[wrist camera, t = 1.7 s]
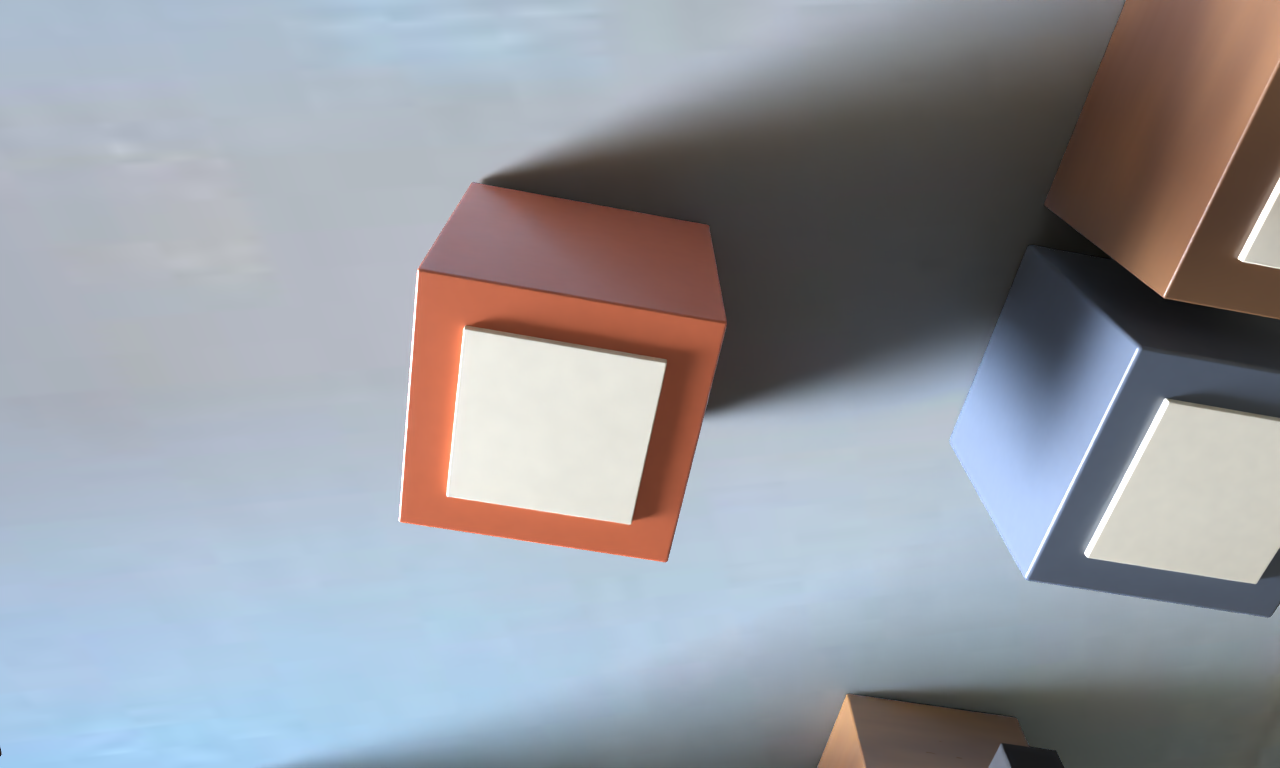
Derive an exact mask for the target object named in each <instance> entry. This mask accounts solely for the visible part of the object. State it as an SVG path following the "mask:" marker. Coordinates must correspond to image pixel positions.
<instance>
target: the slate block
mask: <svg viewBox="0 0 1280 768" xmlns="http://www.w3.org/2000/svg"><path fill="white" fill-rule="evenodd" d="M949 442H950V445H951V446H952V448H953V450H954V452H955V454H956V456H957V457H958V459H959V461H960V463H961V465H962V466H963V468H964V470H965V472H966V474H967V475H968V477H969V479H970V481H971V483H972V484H973V486H974V488H975V490H976V492H977V494H978V495H979V497H980V499H981V501H982V503H983V504H984V506H985V508H986V510H987V512H988V513H989V515H990V517H991V519H992V521H993V522H994V524H995V526H996V528H997V530H998V531H999V533H1000V535H1001V537H1002V539H1003V541H1004V542H1005V544H1006V546H1007V548H1008V550H1009V551H1010V553H1011V555H1012V557H1013V559H1014V560H1015V562H1016V564H1017V566H1018V568H1019V569H1020V571H1021V573H1022V575H1023V577H1024V578H1025V579H1026V580H1028V581H1034V582H1041V583H1047V584H1054V585H1060V586H1066V587H1073V588H1079V589H1086V590H1092V591H1099V592H1105V593H1112V594H1118V595H1125V596H1131V597H1138V598H1144V599H1151V600H1157V601H1164V602H1170V603H1176V604H1183V605H1189V606H1196V607H1202V608H1209V609H1215V610H1222V611H1228V612H1235V613H1241V614H1248V615H1254V616H1261V617H1267V618H1268V617H1271V616H1272V615H1273V613H1274V612H1275V610H1276V609H1277V607H1278V606H1279V604H1280V319H1275V318H1269V317H1264V316H1258V315H1253V314H1247V313H1242V312H1236V311H1231V310H1225V309H1220V308H1214V307H1209V306H1203V305H1198V304H1192V303H1187V302H1181V301H1176V300H1170V299H1165V298H1163V297H1162V296H1160V295H1159V294H1158V293H1156V292H1155V291H1154V290H1153V289H1151V288H1150V287H1149V286H1147V285H1146V284H1145V283H1144V282H1142V281H1141V280H1140V279H1138V278H1137V277H1136V276H1135V275H1133V274H1132V273H1131V272H1129V271H1128V270H1127V269H1126V268H1124V267H1123V266H1122V265H1120V264H1119V263H1118V262H1117V261H1115V260H1110V259H1105V258H1099V257H1094V256H1089V255H1083V254H1078V253H1072V252H1067V251H1062V250H1056V249H1051V248H1045V247H1040V246H1034V245H1029V246H1028V247H1027V249H1026V252H1025V254H1024V257H1023V259H1022V262H1021V264H1020V266H1019V269H1018V271H1017V274H1016V276H1015V279H1014V281H1013V284H1012V286H1011V289H1010V291H1009V294H1008V296H1007V299H1006V301H1005V304H1004V306H1003V309H1002V311H1001V314H1000V316H999V319H998V321H997V324H996V326H995V328H994V331H993V333H992V336H991V338H990V341H989V343H988V346H987V348H986V351H985V353H984V356H983V358H982V361H981V363H980V366H979V368H978V371H977V373H976V376H975V378H974V381H973V383H972V386H971V388H970V390H969V393H968V395H967V398H966V400H965V403H964V405H963V408H962V410H961V413H960V415H959V418H958V420H957V423H956V425H955V428H954V430H953V433H952V435H951V438H950V440H949Z"/></svg>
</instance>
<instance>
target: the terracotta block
mask: <svg viewBox="0 0 1280 768" xmlns="http://www.w3.org/2000/svg"><path fill="white" fill-rule="evenodd" d="M726 327H727V320H726V315H725V309H724V304H723V299H722V293H721V288H720V282H719V277H718V272H717V266H716V261H715V255H714V250H713V245H712V239H711V234H710V228H709V225H706V224H700V223H695V222H689V221H684V220H678V219H673V218H667V217H662V216H656V215H650V214H645V213H639V212H634V211H628V210H623V209H617V208H612V207H606V206H601V205H595V204H590V203H584V202H579V201H573V200H568V199H562V198H557V197H551V196H546V195H540V194H535V193H529V192H524V191H518V190H513V189H507V188H502V187H496V186H491V185H485V184H480V183H474V182H473V183H471V184H470V186H469V188H468V189H467V191H466V193H465V194H464V196H463V197H462V199H461V201H460V202H459V204H458V205H457V207H456V209H455V210H454V212H453V213H452V215H451V217H450V218H449V220H448V221H447V223H446V225H445V226H444V228H443V229H442V231H441V233H440V234H439V236H438V238H437V239H436V241H435V242H434V244H433V246H432V247H431V249H430V250H429V252H428V254H427V255H426V257H425V258H424V260H423V262H422V263H421V265H420V266H419V268H418V270H417V280H416V294H415V307H414V321H413V334H412V348H411V362H410V375H409V389H408V402H407V416H406V430H405V443H404V457H403V470H402V484H401V498H400V511H399V521H400V522H403V523H410V524H416V525H423V526H429V527H436V528H443V529H449V530H456V531H463V532H469V533H476V534H482V535H489V536H496V537H502V538H509V539H515V540H522V541H529V542H535V543H542V544H548V545H555V546H562V547H568V548H575V549H581V550H588V551H595V552H601V553H608V554H615V555H621V556H628V557H634V558H641V559H648V560H654V561H661V562H667V561H668V558H669V554H670V550H671V546H672V542H673V538H674V534H675V530H676V526H677V522H678V518H679V514H680V510H681V506H682V502H683V498H684V494H685V490H686V486H687V482H688V478H689V474H690V470H691V466H692V462H693V458H694V454H695V450H696V446H697V442H698V438H699V434H700V430H701V426H702V422H703V418H704V414H705V410H706V406H707V402H708V398H709V394H710V390H711V386H712V382H713V378H714V374H715V370H716V366H717V362H718V358H719V354H720V350H721V346H722V342H723V339H724V335H725V331H726Z"/></svg>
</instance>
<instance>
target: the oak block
mask: <svg viewBox="0 0 1280 768" xmlns="http://www.w3.org/2000/svg"><path fill="white" fill-rule="evenodd" d="M1001 743H1006V744H1013V745H1020V746H1027V747H1030V746H1029V744H1028V742H1027V740H1026V738H1025V735H1024V733H1023V731H1022V729H1021V726H1020V724H1019V722H1018V720H1017V718H1015V717H1009V716H1002V715H994V714H987V713H980V712H973V711H966V710H959V709H952V708H945V707H938V706H931V705H924V704H917V703H910V702H903V701H896V700H889V699H882V698H875V697H868V696H861V695H854V694H847V695H846V697H845V700H844V702H843V705H842V707H841V710H840V712H839V714H838V717H837V719H836V722H835V724H834V727H833V729H832V732H831V734H830V737H829V739H828V742H827V744H826V747H825V749H824V752H823V754H822V757H821V759H820V762H819V764H818V767H817V768H988V767H989V765H990V763H991V761H992V759H993V758H994V756H995V754H996V752H997V750H998V748H999V746H1000V744H1001Z"/></svg>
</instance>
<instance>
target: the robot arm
mask: <svg viewBox="0 0 1280 768" xmlns="http://www.w3.org/2000/svg"><path fill="white" fill-rule="evenodd" d="M0 756H1V749H0ZM988 768H1064V766H1063V764H1062V762H1061V760H1060V758H1059V756H1058V754H1057V752H1056V750H1049V749H1042V748H1034V747H1027V746H1020V745H1013V744H1006V743H1001V744H1000V746H999V748H998V750H997V752H996V754H995V756H994V758H993V759H992V761H991V763H990V765H989V767H988Z"/></svg>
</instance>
